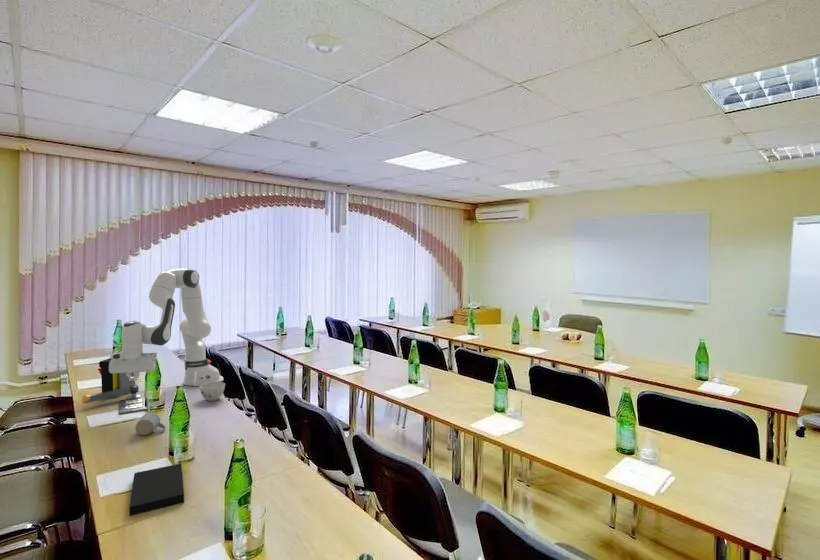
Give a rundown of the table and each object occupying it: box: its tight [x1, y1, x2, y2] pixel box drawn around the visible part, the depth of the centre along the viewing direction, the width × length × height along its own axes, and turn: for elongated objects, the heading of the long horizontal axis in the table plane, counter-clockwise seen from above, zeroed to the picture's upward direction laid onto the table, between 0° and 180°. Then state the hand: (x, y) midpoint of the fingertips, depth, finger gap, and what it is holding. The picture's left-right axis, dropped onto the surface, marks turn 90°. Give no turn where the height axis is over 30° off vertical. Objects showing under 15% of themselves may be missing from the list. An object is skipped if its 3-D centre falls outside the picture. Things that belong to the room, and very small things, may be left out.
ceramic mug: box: [135, 412, 166, 436], centre depth 185 cm, size 11×8×8 cm
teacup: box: [199, 381, 226, 402], centre depth 228 cm, size 15×12×8 cm
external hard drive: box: [128, 463, 185, 517], centre depth 138 cm, size 14×23×3 cm, turn 30°
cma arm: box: [81, 385, 139, 404], centre depth 223 cm, size 25×4×3 cm, turn 141°
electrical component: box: [97, 357, 138, 399], centre depth 239 cm, size 18×10×20 cm, turn 179°
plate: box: [118, 396, 148, 415], centre depth 218 cm, size 12×22×1 cm, turn 33°
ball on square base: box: [126, 393, 141, 399], centre depth 231 cm, size 6×6×3 cm
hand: (133, 380), depth 214 cm, fingers closed
